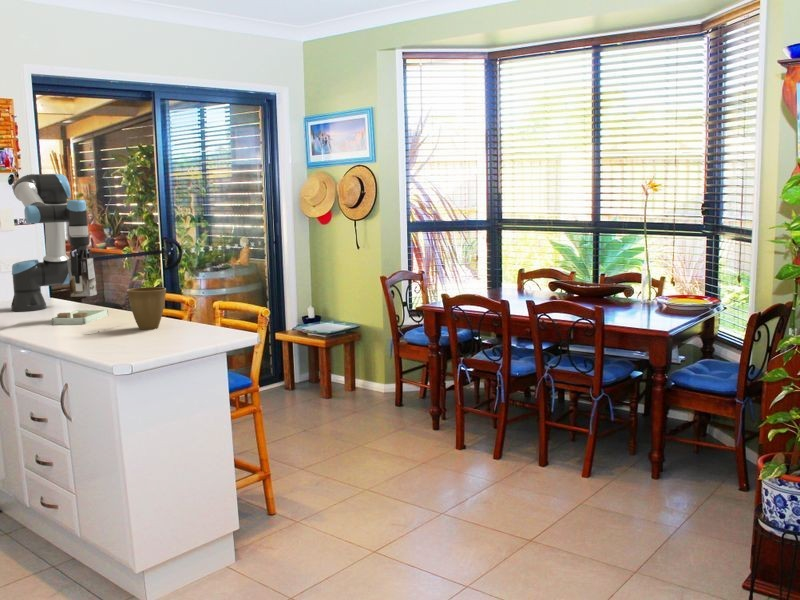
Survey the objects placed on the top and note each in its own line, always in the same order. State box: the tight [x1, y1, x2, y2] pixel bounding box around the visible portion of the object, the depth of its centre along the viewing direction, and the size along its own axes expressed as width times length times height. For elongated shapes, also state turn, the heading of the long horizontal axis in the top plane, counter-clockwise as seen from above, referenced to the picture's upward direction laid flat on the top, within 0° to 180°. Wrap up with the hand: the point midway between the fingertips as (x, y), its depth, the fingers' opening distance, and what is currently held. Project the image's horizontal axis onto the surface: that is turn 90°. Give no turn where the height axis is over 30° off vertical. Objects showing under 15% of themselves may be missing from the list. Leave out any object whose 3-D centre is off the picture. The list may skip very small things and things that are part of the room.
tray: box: [51, 309, 109, 326], centre depth 323 cm, size 22×14×4 cm, turn 177°
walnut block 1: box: [56, 312, 71, 318], centre depth 316 cm, size 4×4×4 cm
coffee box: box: [67, 257, 98, 298], centre depth 325 cm, size 9×6×16 cm
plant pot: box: [126, 286, 167, 330], centre depth 305 cm, size 15×15×16 cm
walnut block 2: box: [73, 312, 88, 318], centre depth 316 cm, size 4×4×4 cm
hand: (83, 289), depth 326 cm, fingers closed on coffee box, 6 cm apart
